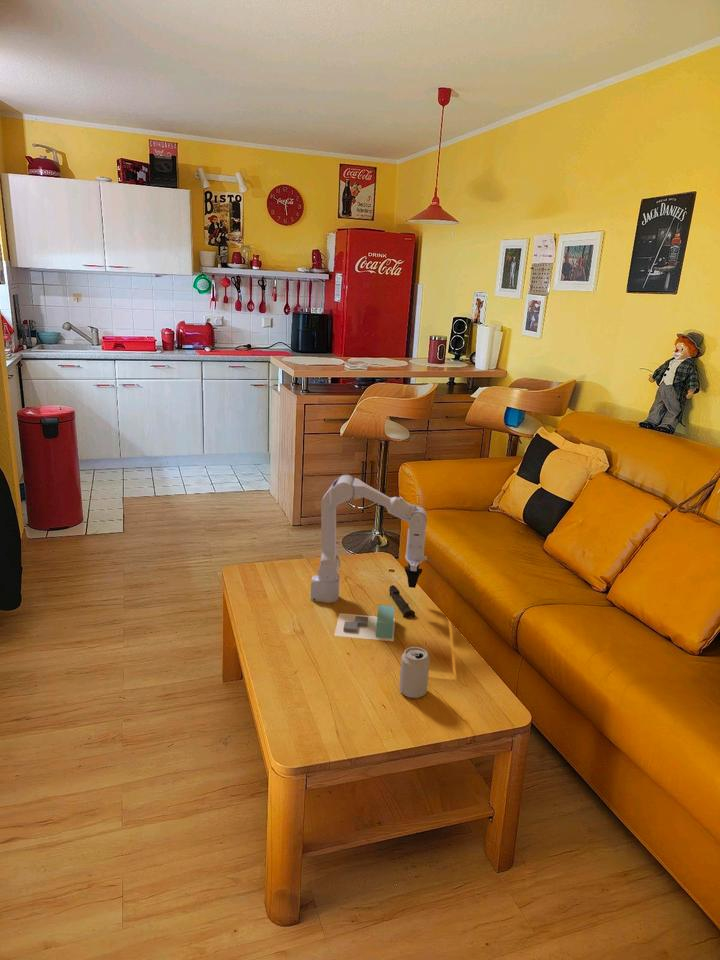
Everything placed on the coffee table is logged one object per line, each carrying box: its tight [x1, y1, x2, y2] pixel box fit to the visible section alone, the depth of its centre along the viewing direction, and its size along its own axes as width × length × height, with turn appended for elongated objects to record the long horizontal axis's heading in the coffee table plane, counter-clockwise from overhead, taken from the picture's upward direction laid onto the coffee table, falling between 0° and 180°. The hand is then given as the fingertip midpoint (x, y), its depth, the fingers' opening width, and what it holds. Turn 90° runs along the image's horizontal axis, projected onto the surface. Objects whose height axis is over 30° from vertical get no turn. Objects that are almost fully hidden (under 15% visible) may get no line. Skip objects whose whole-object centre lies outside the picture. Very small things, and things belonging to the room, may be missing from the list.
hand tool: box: [388, 585, 416, 618], centre depth 221 cm, size 19×4×5 cm, turn 14°
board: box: [334, 612, 396, 642], centre depth 205 cm, size 18×14×2 cm
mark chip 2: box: [355, 616, 368, 627], centre depth 207 cm, size 4×4×1 cm
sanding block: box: [376, 604, 395, 638], centre depth 204 cm, size 5×11×5 cm, turn 175°
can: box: [398, 646, 431, 699], centre depth 175 cm, size 8×8×12 cm
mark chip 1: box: [343, 622, 358, 633], centre depth 203 cm, size 4×4×1 cm
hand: (412, 581), depth 217 cm, fingers open, 7 cm apart
